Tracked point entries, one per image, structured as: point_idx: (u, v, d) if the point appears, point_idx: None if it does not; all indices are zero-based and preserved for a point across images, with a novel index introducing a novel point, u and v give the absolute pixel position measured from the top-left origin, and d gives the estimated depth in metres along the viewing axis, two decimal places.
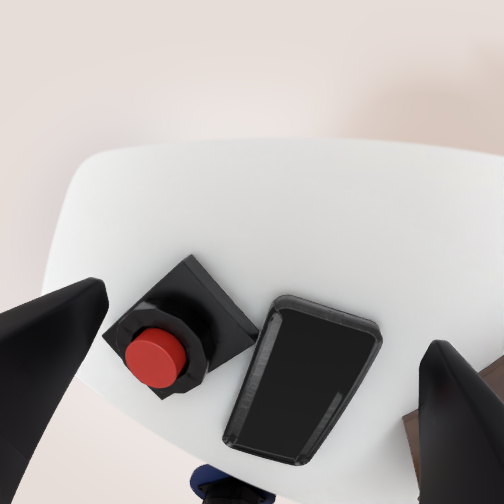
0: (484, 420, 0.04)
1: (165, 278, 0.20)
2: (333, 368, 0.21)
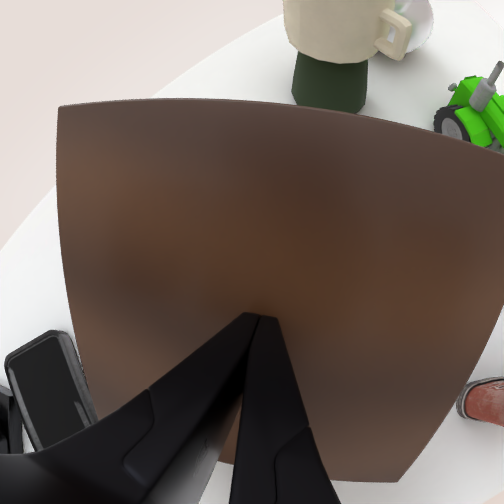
0: (251, 402, 0.05)
1: None
2: (54, 382, 0.19)
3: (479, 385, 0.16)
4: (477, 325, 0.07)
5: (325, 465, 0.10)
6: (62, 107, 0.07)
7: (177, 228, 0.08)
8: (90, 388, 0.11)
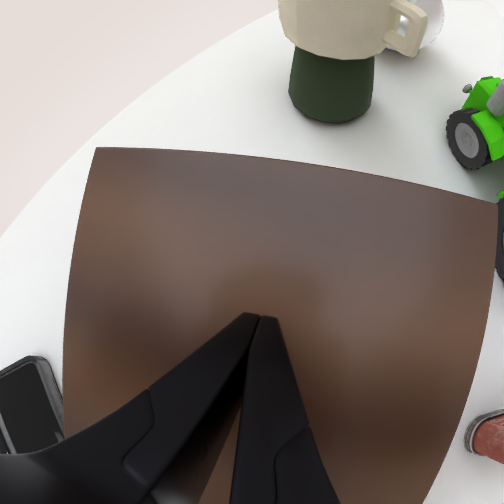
0: (251, 402, 0.05)
1: None
2: (34, 411, 0.17)
3: (489, 420, 0.14)
4: (463, 351, 0.07)
5: None
6: (99, 148, 0.09)
7: (188, 259, 0.09)
8: (66, 431, 0.09)
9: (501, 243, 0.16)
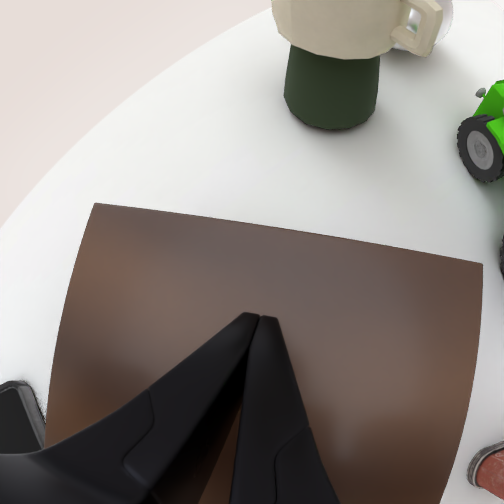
0: (251, 402, 0.05)
1: None
2: (19, 436, 0.15)
3: (494, 453, 0.12)
4: (451, 407, 0.07)
5: None
6: (98, 204, 0.10)
7: (178, 320, 0.09)
8: None
9: None
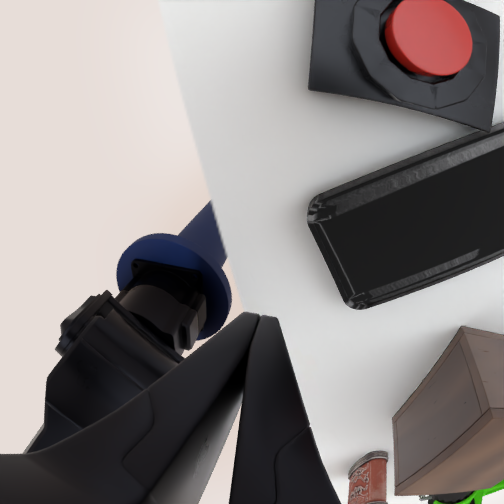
0: (251, 402, 0.05)
1: (473, 5, 0.09)
2: (499, 222, 0.15)
3: None
4: (465, 489, 0.18)
5: (426, 481, 0.17)
6: None
7: None
8: None
9: None
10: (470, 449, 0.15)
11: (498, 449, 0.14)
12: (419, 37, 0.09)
